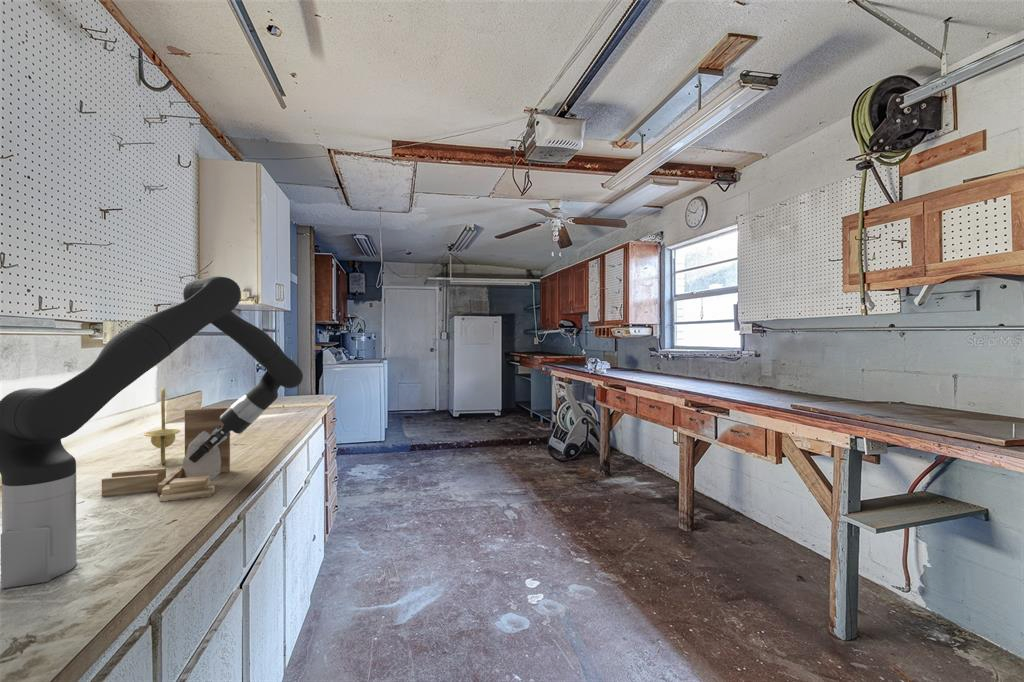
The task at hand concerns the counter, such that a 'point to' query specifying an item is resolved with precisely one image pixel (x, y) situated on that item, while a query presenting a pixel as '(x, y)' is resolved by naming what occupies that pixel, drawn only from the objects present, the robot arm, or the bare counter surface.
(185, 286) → the robot arm
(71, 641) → the counter surface
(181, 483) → the offcut stack
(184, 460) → the stone tool
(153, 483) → the holder
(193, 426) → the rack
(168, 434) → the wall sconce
